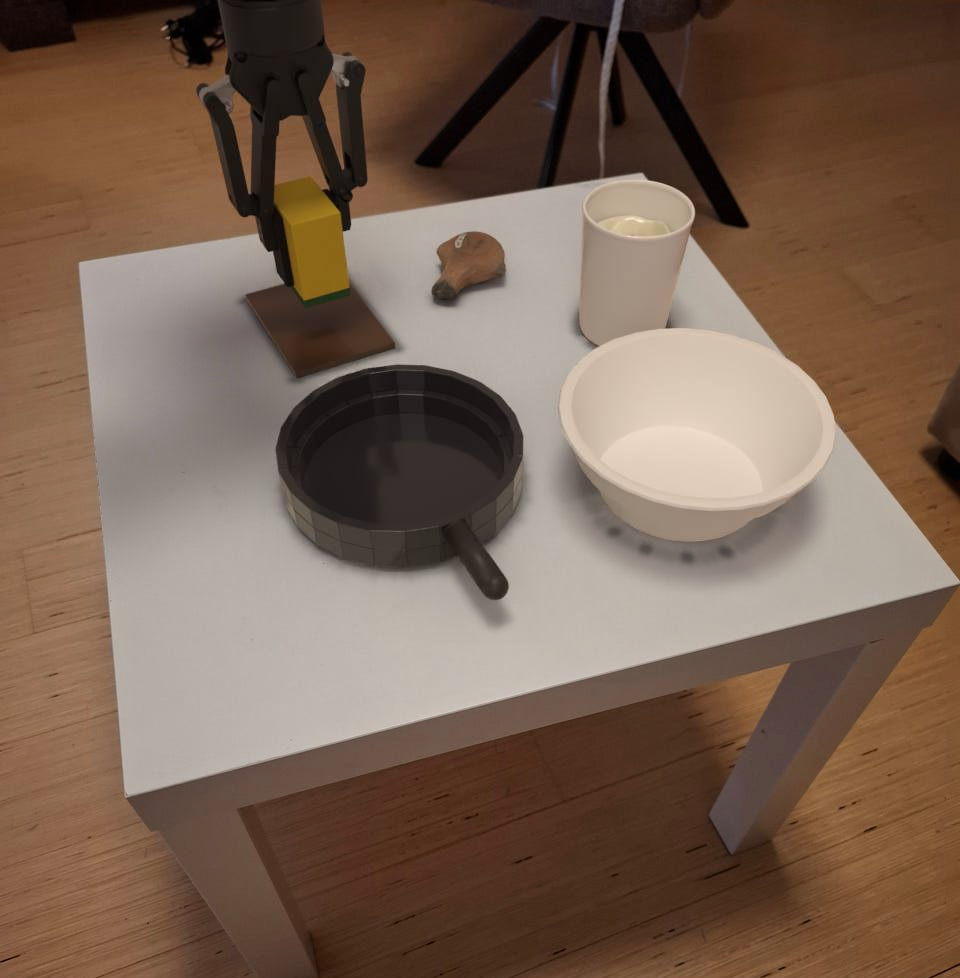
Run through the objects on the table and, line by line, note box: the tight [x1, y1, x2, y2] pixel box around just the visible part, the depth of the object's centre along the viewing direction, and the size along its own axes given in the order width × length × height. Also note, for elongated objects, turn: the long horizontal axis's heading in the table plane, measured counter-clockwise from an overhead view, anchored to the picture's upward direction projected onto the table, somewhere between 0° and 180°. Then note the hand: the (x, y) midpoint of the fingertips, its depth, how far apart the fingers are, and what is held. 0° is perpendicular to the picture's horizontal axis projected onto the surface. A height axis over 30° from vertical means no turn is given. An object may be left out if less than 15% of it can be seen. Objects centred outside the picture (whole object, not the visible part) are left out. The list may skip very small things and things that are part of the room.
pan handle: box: [444, 520, 510, 601], centre depth 69 cm, size 8×2×2 cm, turn 28°
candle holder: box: [578, 178, 696, 347], centre depth 87 cm, size 10×10×12 cm
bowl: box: [557, 327, 837, 543], centre depth 75 cm, size 21×21×8 cm
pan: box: [275, 363, 524, 568], centre depth 77 cm, size 20×20×4 cm
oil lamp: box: [431, 230, 507, 300], centre depth 95 cm, size 9×4×8 cm
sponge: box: [274, 175, 350, 308], centre depth 85 cm, size 7×4×8 cm, turn 28°
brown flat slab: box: [245, 282, 396, 379], centre depth 91 cm, size 14×10×1 cm
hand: (312, 270), depth 87 cm, fingers closed on sponge, 4 cm apart
